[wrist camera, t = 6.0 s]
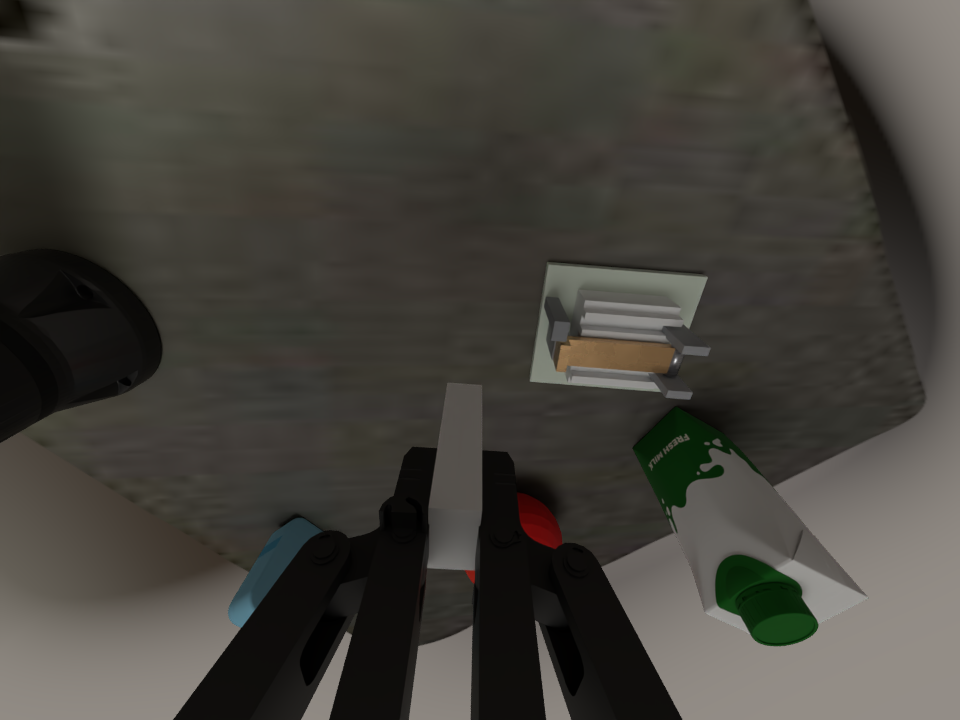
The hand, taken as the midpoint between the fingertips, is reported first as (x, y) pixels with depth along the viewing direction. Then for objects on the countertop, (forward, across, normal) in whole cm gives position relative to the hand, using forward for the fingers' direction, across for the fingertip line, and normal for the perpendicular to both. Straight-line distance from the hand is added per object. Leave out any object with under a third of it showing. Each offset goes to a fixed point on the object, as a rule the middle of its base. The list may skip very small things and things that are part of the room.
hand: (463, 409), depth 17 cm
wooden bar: (+15, +13, -4) cm, 20 cm away
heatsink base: (+20, +14, -4) cm, 24 cm away
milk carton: (+20, +24, -16) cm, 35 cm away
